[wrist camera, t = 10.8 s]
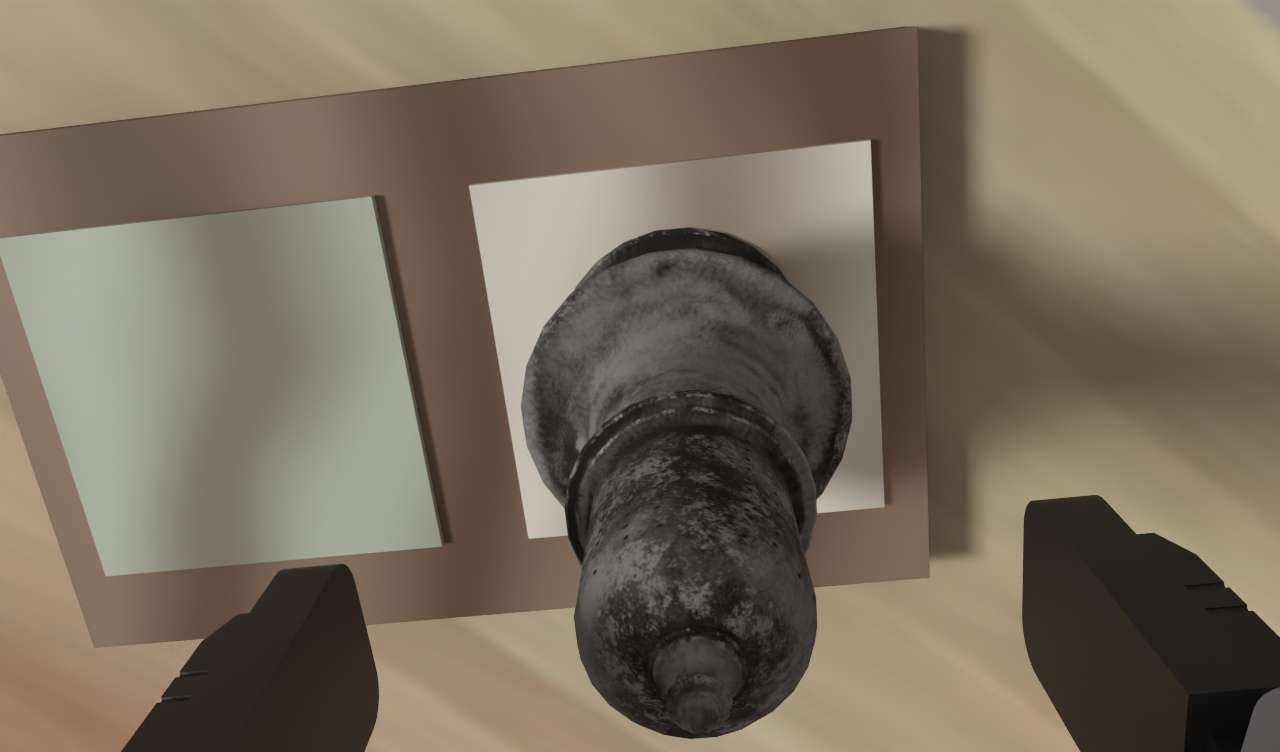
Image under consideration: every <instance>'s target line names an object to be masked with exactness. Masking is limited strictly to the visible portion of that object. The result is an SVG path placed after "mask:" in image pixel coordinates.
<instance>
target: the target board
mask: <svg viewBox="0 0 1280 752" xmlns="http://www.w3.org/2000/svg"><path fill="white" fill-rule="evenodd" d="M688 227H690V228H696V229H702V230H708V231H714V232H720V233H724V234H726V235H728V236H731V237H733V238H735V239H737V240H739V241H742V242H744V243H746V244H748V245H750V246H753V247H754V248H755V249H757V250H758V251H759V252H760V253H761V254H763V255H764V256H765V257H766V258H767V259H769V260H770V261H771V262H772V263H773V264H775V265H776V266H777V267H778V268H779V269H780V270H781V272H782V273H783V275H784V276H785V278H786V279H787V281H788V282H789V283H790V284H792V285H793V286H794V287H795V288H796V289H798V290H799V291H800V292H801V293H802V294H804V295H805V296H806V297H807V298H808V299H810V300H811V301H812V302H813V303H814V304H815V306H816V307H817V309H818V310H819V312H820V313H821V315H822V316H823V318H824V319H825V320H826V322H827V323H828V325H829V326H830V328H831V329H832V331H833V332H834V334H835V335H836V337H837V338H838V341H839V344H840V347H841V350H842V353H843V356H844V359H845V362H846V365H847V368H848V371H849V374H850V377H851V393H852V423H851V427H850V431H849V435H848V439H847V443H846V447H845V451H844V455H843V459H842V460H841V462H840V464H839V466H838V467H837V469H836V471H835V473H834V474H833V476H832V478H831V480H830V481H829V483H828V485H827V487H826V488H825V490H824V492H823V494H822V495H821V496H820V497H819V498H818V499H817V520H816V524H815V528H814V532H813V536H812V540H811V544H810V547H809V549H808V550H807V552H806V554H805V557H806V561H807V565H808V569H809V573H810V576H811V580H812V584H813V587H824V586H836V585H847V584H859V583H871V582H883V581H895V580H907V579H919V578H930V566H929V521H928V476H927V431H926V386H925V342H924V297H923V252H922V207H921V162H920V117H919V72H918V27H898V28H889V29H881V30H872V31H864V32H856V33H847V34H839V35H830V36H822V37H814V38H805V39H797V40H789V41H780V42H772V43H763V44H755V45H747V46H738V47H730V48H722V49H713V50H705V51H696V52H688V53H680V54H671V55H663V56H655V57H646V58H638V59H629V60H621V61H613V62H604V63H596V64H588V65H579V66H571V67H562V68H554V69H546V70H537V71H529V72H521V73H512V74H504V75H495V76H487V77H479V78H470V79H462V80H454V81H445V82H437V83H428V84H420V85H412V86H403V87H395V88H387V89H378V90H370V91H361V92H353V93H345V94H336V95H328V96H320V97H311V98H303V99H294V100H286V101H278V102H269V103H261V104H253V105H244V106H236V107H227V108H219V109H211V110H202V111H194V112H186V113H177V114H169V115H160V116H152V117H144V118H135V119H127V120H118V121H110V122H102V123H93V124H85V125H77V126H68V127H60V128H51V129H43V130H35V131H26V132H18V133H10V134H1V135H0V374H1V377H2V380H3V383H4V385H5V388H6V391H7V394H8V397H9V400H10V403H11V406H12V409H13V412H14V415H15V418H16V421H17V423H18V426H19V429H20V432H21V435H22V438H23V441H24V444H25V447H26V450H27V453H28V456H29V458H30V461H31V464H32V467H33V470H34V473H35V476H36V479H37V482H38V485H39V488H40V491H41V494H42V496H43V499H44V502H45V505H46V508H47V511H48V514H49V517H50V520H51V523H52V526H53V529H54V532H55V534H56V537H57V540H58V543H59V546H60V549H61V552H62V555H63V558H64V561H65V564H66V567H67V569H68V572H69V575H70V578H71V581H72V584H73V587H74V590H75V593H76V596H77V599H78V602H79V605H80V607H81V610H82V613H83V616H84V619H85V622H86V625H87V628H88V631H89V634H90V637H91V640H92V642H93V645H94V648H98V647H110V646H122V645H134V644H146V643H158V642H169V641H181V640H193V639H205V638H207V637H208V636H210V635H211V634H212V633H214V632H215V631H216V630H218V629H219V628H220V627H222V626H223V625H224V624H226V623H227V622H228V621H229V620H231V619H232V618H233V617H235V616H236V615H237V614H246V613H250V611H251V610H252V608H253V607H254V605H255V604H256V603H257V601H258V600H259V598H260V597H261V595H262V594H263V592H264V591H265V589H266V588H267V587H268V585H269V584H270V582H271V581H272V579H273V578H274V576H275V575H276V574H277V573H278V572H279V571H280V570H282V569H288V568H299V567H310V566H321V565H331V564H345V565H347V566H348V568H349V569H350V570H351V572H352V574H353V577H354V580H355V583H356V587H357V592H358V596H359V600H360V604H361V608H362V612H363V616H364V621H365V625H372V624H384V623H395V622H407V621H419V620H431V619H443V618H455V617H467V616H479V615H491V614H503V613H514V612H526V611H538V610H550V609H562V608H574V607H576V602H577V596H578V590H579V583H580V577H581V571H582V567H581V566H580V564H579V561H578V559H577V557H576V555H575V552H574V550H573V548H572V545H571V543H570V541H569V538H568V532H567V524H566V516H565V509H564V508H563V506H562V505H561V504H560V503H559V502H558V500H557V499H556V498H555V497H554V495H553V494H552V493H551V492H550V491H549V489H548V488H547V487H546V486H545V484H544V483H543V481H542V479H541V477H540V475H539V473H538V470H537V468H536V466H535V464H534V461H533V459H532V457H531V455H530V452H529V450H528V448H527V445H526V438H525V432H524V425H523V418H522V411H521V401H522V394H523V386H524V379H525V371H526V365H527V363H528V361H529V358H530V356H531V354H532V352H533V349H534V347H535V345H536V342H537V340H538V338H539V336H540V333H541V331H542V329H543V326H544V325H545V324H546V323H547V322H548V320H549V319H550V318H551V317H552V315H553V314H554V313H555V312H556V311H557V309H558V308H559V307H560V306H561V305H562V303H563V302H564V301H565V300H566V298H567V297H568V296H569V295H570V294H571V293H572V292H573V291H574V290H575V287H576V286H577V285H578V283H579V282H580V281H581V280H582V279H583V277H584V276H585V275H586V274H587V272H588V271H589V270H590V269H591V268H592V266H593V265H594V264H595V263H596V262H597V261H598V260H599V259H601V258H602V257H604V256H605V255H606V254H608V253H609V252H611V251H612V250H613V249H615V248H616V247H618V246H619V245H621V244H622V243H623V242H626V241H628V240H631V239H634V238H637V237H639V236H642V235H645V234H647V233H650V232H653V231H656V230H667V229H677V228H688Z"/></svg>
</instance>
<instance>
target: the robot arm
mask: <svg viewBox="0 0 1280 752" xmlns="http://www.w3.org/2000/svg"><path fill="white" fill-rule="evenodd" d="M1022 622H1023V632H1024V638H1025V644H1026V648H1027V652H1028V656H1029V659H1030V662H1031V665H1032V667H1033V669H1034V672H1035V673H1036V675H1037V677H1038V679H1039V681H1040V682H1041V684H1042V686H1043V688H1044V689H1045V691H1046V693H1047V694H1048V696H1049V698H1050V700H1051V701H1052V703H1053V705H1054V707H1055V708H1056V710H1057V712H1058V714H1059V715H1060V717H1061V719H1062V720H1063V722H1064V724H1065V726H1066V727H1067V729H1068V731H1069V733H1070V734H1071V736H1072V738H1073V740H1074V741H1075V743H1076V745H1077V746H1078V748H1079V750H1080V752H1280V637H1279V636H1278V635H1277V634H1276V633H1275V632H1274V631H1273V630H1272V629H1271V628H1270V627H1269V626H1268V625H1267V624H1266V623H1265V622H1264V621H1263V620H1262V619H1261V618H1260V617H1259V616H1258V615H1257V614H1256V613H1255V612H1254V611H1248V609H1247V604H1246V603H1245V602H1244V601H1243V600H1242V599H1241V598H1239V597H1238V596H1237V595H1236V594H1235V593H1234V592H1233V591H1232V590H1231V589H1230V588H1225V586H1224V582H1223V581H1222V580H1221V579H1220V578H1219V577H1218V576H1217V575H1216V574H1215V573H1214V572H1213V571H1212V570H1211V569H1210V568H1209V567H1208V566H1207V565H1206V564H1205V563H1204V562H1203V561H1202V560H1201V559H1200V558H1199V557H1198V556H1197V555H1196V554H1194V553H1192V552H1190V551H1188V550H1186V549H1184V548H1182V547H1181V546H1179V545H1177V544H1175V543H1173V542H1171V541H1169V540H1167V539H1165V538H1163V537H1161V536H1159V535H1157V534H1155V533H1147V534H1136V533H1135V532H1134V531H1133V530H1132V529H1131V528H1130V527H1129V526H1128V525H1127V524H1126V523H1125V522H1124V520H1123V519H1122V518H1121V517H1120V516H1119V515H1118V514H1117V513H1116V512H1115V511H1114V510H1113V509H1112V508H1111V506H1110V505H1109V504H1108V503H1107V502H1106V501H1105V500H1104V499H1103V498H1102V497H1100V496H1098V495H1090V496H1079V497H1069V498H1058V499H1047V500H1036V501H1031V502H1029V504H1028V505H1027V507H1026V511H1025V516H1024V545H1023V603H1022ZM378 703H379V686H378V676H377V671H376V666H375V662H374V658H373V654H372V650H371V646H370V641H369V637H368V633H367V629H366V625H365V621H364V616H363V612H362V608H361V604H360V600H359V596H358V592H357V587H356V583H355V580H354V577H353V574H352V572H351V570H350V569H349V568H348V566H347V565H345V564H331V565H321V566H310V567H299V568H288V569H282V570H280V571H279V572H278V573H277V574H276V575H275V576H274V578H273V579H272V581H271V582H270V584H269V585H268V587H267V588H266V589H265V591H264V592H263V594H262V595H261V597H260V598H259V600H258V601H257V603H256V604H255V605H254V607H253V608H252V610H251V611H250V613H246V614H237V615H236V616H235V617H233V618H232V619H231V620H229V621H228V622H227V623H226V624H224V625H223V626H222V627H220V628H219V629H218V630H216V631H215V632H214V633H212V634H211V635H210V636H208V637H207V638H206V639H205V640H203V641H202V642H201V643H200V645H199V646H198V647H197V649H196V650H195V652H194V653H193V654H192V656H191V657H190V658H189V660H188V661H187V662H186V664H185V665H184V667H183V668H182V669H181V671H180V677H176V678H175V679H174V680H173V682H172V683H171V684H170V686H169V687H168V688H167V690H166V691H165V692H164V694H163V695H162V702H161V703H156V705H155V706H154V708H153V709H152V710H151V712H150V713H149V714H148V716H147V717H146V718H145V720H144V721H143V723H142V724H141V725H140V727H139V728H138V729H137V731H136V732H135V733H134V735H133V736H132V738H131V739H130V740H129V742H128V743H127V744H126V746H125V747H124V749H123V750H122V751H121V752H364V751H365V749H366V746H367V744H368V741H369V739H370V736H371V734H372V731H373V729H374V726H375V722H376V718H377V712H378Z"/></svg>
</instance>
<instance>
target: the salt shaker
mask: <svg viewBox="0 0 1280 752" xmlns="http://www.w3.org/2000/svg"><path fill="white" fill-rule="evenodd" d="M521 411H522V418H523V425H524V432H525V438H526V445H527V448H528V450H529V452H530V455H531V457H532V459H533V461H534V464H535V466H536V468H537V470H538V473H539V475H540V477H541V479H542V481H543V483H544V484H545V486H546V487H547V488H548V489H549V491H550V492H551V493H552V494H553V495H554V497H555V498H556V499H557V500H558V502H559V503H560V504H561V505H562V506H563V508H564V509H565V516H566V524H567V532H568V538H569V541H570V543H571V545H572V548H573V550H574V552H575V555H576V557H577V559H578V561H579V564H580V566H581V567H582V571H581V577H580V583H579V590H578V596H577V602H576V608H575V614H574V621H575V629H576V637H577V644H578V649H579V653H580V658H581V661H582V663H583V665H584V667H585V670H586V672H587V674H588V676H589V679H590V681H591V683H592V685H593V686H594V687H595V688H596V689H597V691H598V692H599V693H600V694H601V695H602V697H603V698H604V699H605V700H606V701H607V703H608V704H609V705H610V706H612V707H613V708H614V709H616V710H617V711H619V712H620V713H621V714H623V715H624V716H626V717H627V718H628V719H630V720H631V721H633V722H635V723H637V724H639V725H641V726H643V727H646V728H648V729H651V730H653V731H656V732H658V733H661V734H664V735H669V736H675V737H682V738H689V739H694V738H708V737H718V736H721V735H724V734H728V733H731V732H734V731H738V730H741V729H743V728H745V727H747V726H748V725H750V724H752V723H753V722H755V721H757V720H759V719H760V718H762V717H764V716H766V715H767V714H769V713H771V712H773V711H774V710H775V709H776V708H777V707H778V706H779V705H780V704H781V703H782V702H783V701H784V700H785V699H786V698H787V697H788V696H789V695H790V694H791V693H792V692H793V691H794V690H795V688H796V686H797V685H798V683H799V681H800V680H801V678H802V676H803V675H804V673H805V671H806V670H807V668H808V665H809V662H810V658H811V654H812V650H813V646H814V643H815V637H816V630H817V611H816V596H815V592H814V588H813V584H812V580H811V576H810V573H809V569H808V565H807V561H806V557H805V554H806V552H807V550H808V549H809V547H810V544H811V540H812V536H813V532H814V528H815V524H816V520H817V499H818V498H819V497H820V496H821V495H822V494H823V492H824V490H825V488H826V487H827V485H828V483H829V481H830V480H831V478H832V476H833V474H834V473H835V471H836V469H837V467H838V466H839V464H840V462H841V460H842V459H843V455H844V451H845V447H846V443H847V439H848V435H849V431H850V427H851V423H852V393H851V377H850V374H849V371H848V368H847V365H846V362H845V359H844V356H843V353H842V350H841V347H840V344H839V341H838V338H837V337H836V335H835V334H834V332H833V331H832V329H831V328H830V326H829V325H828V323H827V322H826V320H825V319H824V318H823V316H822V315H821V313H820V312H819V310H818V309H817V307H816V306H815V304H814V303H813V302H812V301H811V300H810V299H808V298H807V297H806V296H805V295H804V294H802V293H801V292H800V291H799V290H798V289H796V288H795V287H794V286H793V285H792V284H790V283H789V282H788V281H787V279H786V278H785V276H784V275H783V273H782V272H781V270H780V269H779V268H778V267H777V266H776V265H775V264H773V263H772V262H771V261H770V260H769V259H767V258H766V257H765V256H764V255H763V254H761V253H760V252H759V251H758V250H757V249H755V248H754V247H753V246H750V245H748V244H746V243H744V242H742V241H739V240H737V239H735V238H733V237H731V236H728V235H726V234H724V233H720V232H714V231H708V230H702V229H696V228H690V227H688V228H677V229H667V230H656V231H653V232H650V233H647V234H645V235H642V236H639V237H637V238H634V239H631V240H628V241H626V242H623V243H622V244H621V245H619V246H618V247H616V248H615V249H613V250H612V251H611V252H609V253H608V254H606V255H605V256H604V257H602V258H601V259H599V260H598V261H597V262H596V263H595V264H594V265H593V266H592V268H591V269H590V270H589V271H588V272H587V274H586V275H585V276H584V277H583V279H582V280H581V281H580V282H579V283H578V285H577V286H576V287H575V290H574V291H573V292H572V293H571V294H570V295H569V296H568V297H567V298H566V300H565V301H564V302H563V303H562V305H561V306H560V307H559V308H558V309H557V311H556V312H555V313H554V314H553V315H552V317H551V318H550V319H549V320H548V322H547V323H546V324H545V325H544V326H543V329H542V331H541V333H540V336H539V338H538V340H537V342H536V345H535V347H534V349H533V352H532V354H531V356H530V358H529V361H528V363H527V365H526V371H525V379H524V386H523V394H522V401H521Z"/></svg>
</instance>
